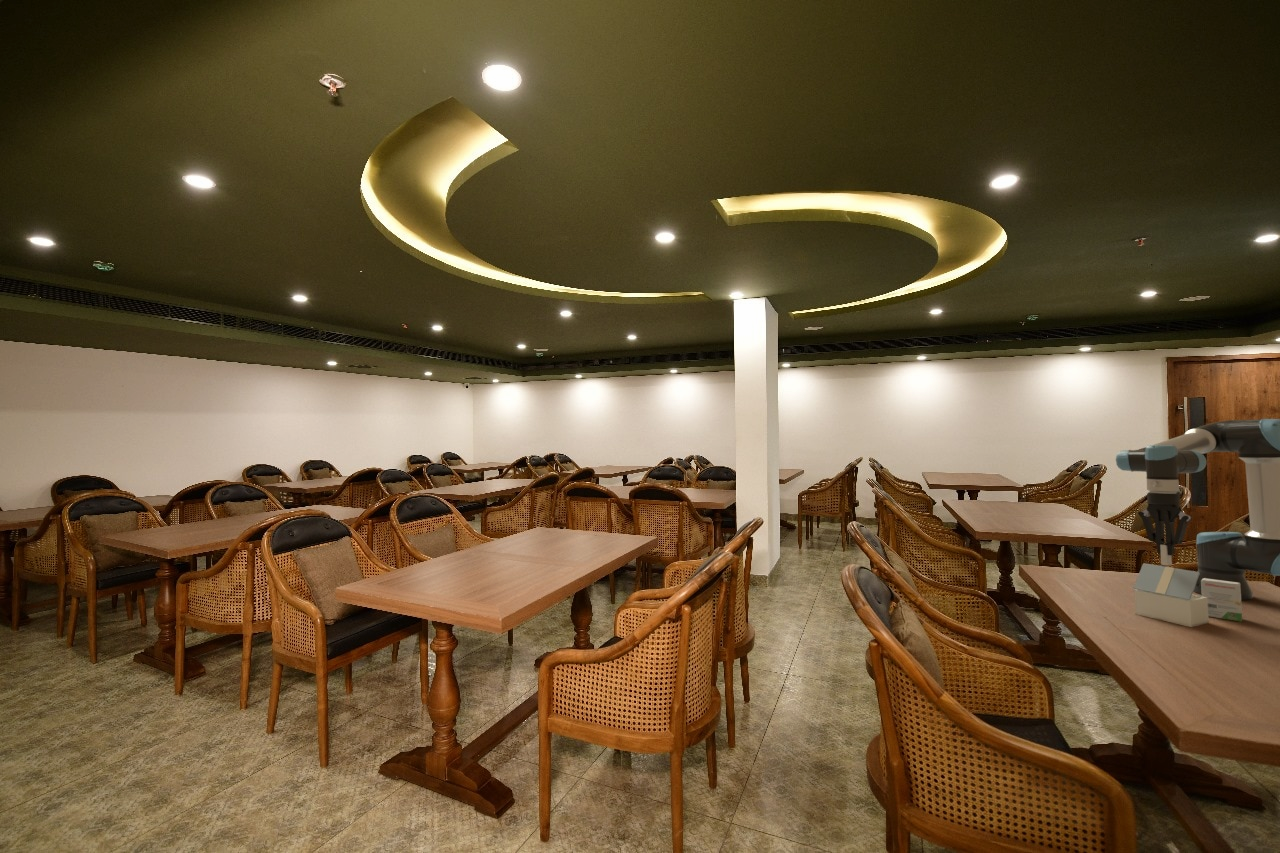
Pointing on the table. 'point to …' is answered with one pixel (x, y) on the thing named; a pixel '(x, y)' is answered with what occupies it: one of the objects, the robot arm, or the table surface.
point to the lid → (1166, 581)
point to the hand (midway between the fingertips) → (1166, 564)
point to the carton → (1172, 608)
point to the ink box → (1222, 599)
